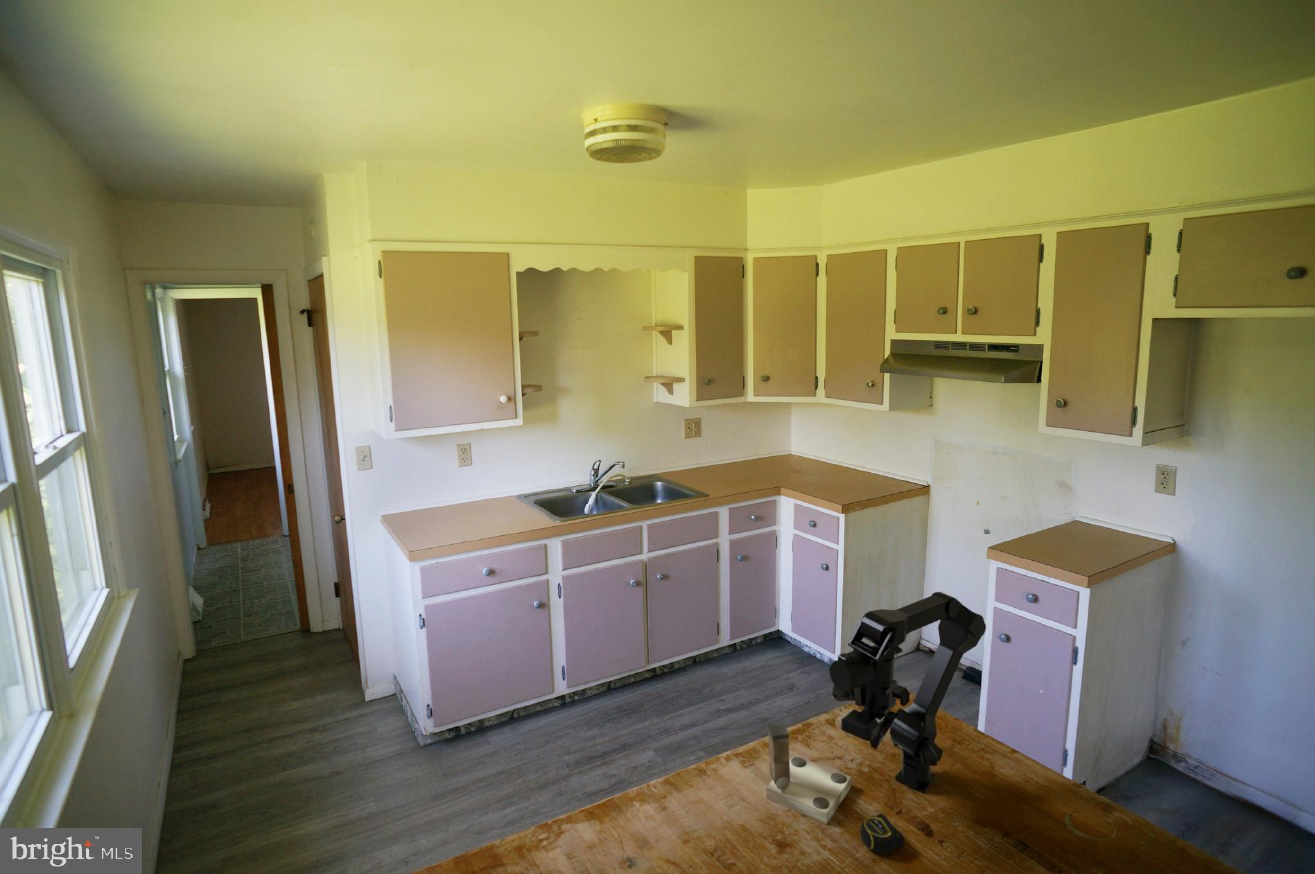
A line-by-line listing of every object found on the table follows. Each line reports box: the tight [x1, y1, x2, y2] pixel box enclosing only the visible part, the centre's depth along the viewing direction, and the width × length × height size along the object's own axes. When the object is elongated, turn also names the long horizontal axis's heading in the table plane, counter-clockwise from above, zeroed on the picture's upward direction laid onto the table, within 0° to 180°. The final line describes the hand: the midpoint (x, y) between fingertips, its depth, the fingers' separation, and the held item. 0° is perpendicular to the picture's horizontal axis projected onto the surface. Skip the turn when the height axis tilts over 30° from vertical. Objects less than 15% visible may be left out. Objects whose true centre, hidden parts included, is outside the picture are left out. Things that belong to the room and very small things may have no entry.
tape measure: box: [859, 813, 906, 855], centre depth 131 cm, size 7×7×4 cm
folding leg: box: [766, 723, 790, 790], centre depth 142 cm, size 3×3×12 cm
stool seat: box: [765, 754, 852, 825], centre depth 144 cm, size 13×13×3 cm
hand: (874, 747), depth 140 cm, fingers closed
